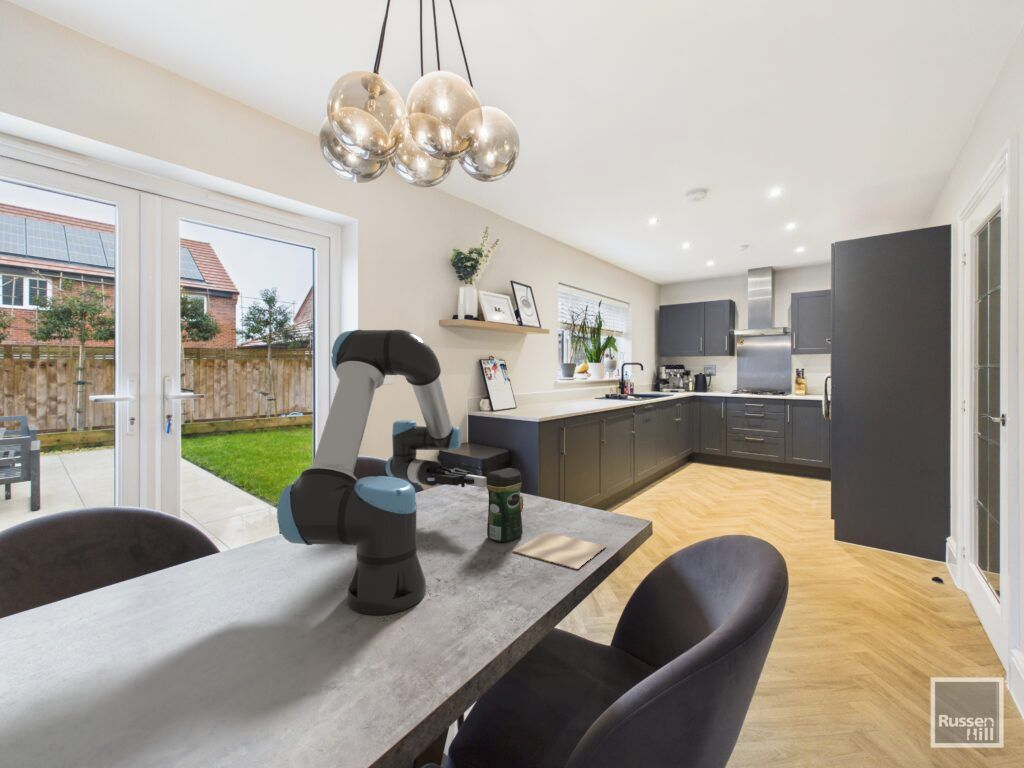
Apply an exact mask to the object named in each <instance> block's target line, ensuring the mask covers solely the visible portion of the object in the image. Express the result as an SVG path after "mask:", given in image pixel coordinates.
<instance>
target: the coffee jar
mask: <svg viewBox="0 0 1024 768" xmlns="http://www.w3.org/2000/svg"><path fill="white" fill-rule="evenodd" d="M521 475H522V474H521V471H520V470H519V469H517V468H512V467H506V468H502V469H498V470H493V471H489V472H488V473H487V475H486V479H487V482H486V483H487V484H486V486H487V487H486V489H487V492H488V510H487V511H488V512H487V525H486V526H487V527H486V536H487V538H488V539H490V540H491V541H493V542H501V543H507V542H510V541H512V540H515V539H518V538H519V537H521V536H522V535H523V534H524V533H523V531H524V530H523V520H522V518H523V517H522V513H521V507H520V496H521V488H522V476H521Z"/></svg>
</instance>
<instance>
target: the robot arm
mask: <svg viewBox="0 0 1024 768" xmlns="http://www.w3.org/2000/svg"><path fill="white" fill-rule="evenodd" d="M331 354H332V356H331V364H332V368H333V370H334V372H335V374H336V377H337V378H338V380H339V381H338V384H337V387H336V390H335V393H334V397H333V399H332V403H331V406H330V409H329V412H328V415H327V418H326V421H325V424H324V428H323V429H322V430H323V431H322V434H321V437H320V440H319V443H318V445H317V449H316V452H315V454H314V459H313V461H312V464H311V466H309V467H307V468H305V469H304V470H302V472H301V473H300V477H299V480H298V482H297V483H295V482H294V483H292V484H289V485H287V486H286V487H285V488H284V489H283V490H282V491H281V492H280V496H279V498H278V502H277V509H276V518H277V525H278V528H279V531H280V533H281V535H282V537H283V538H284V539H285V540H287V541H288V542H289V543H290V544H297V545H298V544H299V545H300V544H301V545H306V546H312V545H324V546H325V545H327V546H328V545H331V546H332V545H334V546H335V545H336V546H356V548H355V549H356V562H355V566H354V569H353V572H352V576H351V579H350V582H349V585H348V590H347V605H348V606H349V607H350V608H351V610H353V611H355V612H357V613H360V614H363V615H369V616H370V615H371V616H381V615H382V616H384V615H389V614H394V613H398V612H402V611H405V610H408V609H410V608H412V607H414V606H415V605H417V604H418V603H420V601H422V600H423V599H424V598H425V596H426V593H427V587H426V584H427V582H426V577H425V575H424V572H423V569H422V566H421V563H420V559H419V557H418V554H417V550H418V549H417V548H418V547H417V509H418V505H417V502H416V499H417V498H416V490H415V486H413V485H412V483H415V484H417V486H421V485H425V486H428V487H429V486H430V487H434V486H437V485H446V486H447V485H449V486H456V487H457V486H460V485H461V488H465V485H467V486H471V487H476V488H477V487H478V488H487V486H486V484H487V483H486V482H487V476H481V475H475V474H474V473H473V472H471V471H468V470H464V469H461V468H458V467H454V468H453V469H451V468H448V467H442V465H441V463H439V461H434V460H428V459H421V458H417V454H418V453H417V451H425V450H426V451H455V450H459V449H460V447H461V445H462V431H461V430H462V429H461V428H460V427H459V426H454V425H453V426H452V422H451V419H450V418H451V417H450V414H449V411H448V406H447V403H446V398H445V396H444V391H443V388H442V384H441V381H440V377H441V372H442V370H441V369H442V368H441V365H440V361H439V359H438V357H437V355H436V354H435V352H434V350H433V349H432V348H431V347H430V345H428V344H427V342H426V341H425V340H424V339H422V338H421V337H419V336H418V335H416V334H414V333H413V332H411V331H409V330H404V329H373V330H372V329H368V330H367V329H354V330H348V331H346V330H345V331H344V332H342V333H340V334H339V335H338V336H337V337H336V339H335V340H334V343H333V346H332V349H331ZM386 376H403V377H404V378H405V380H406V381H407V383H409V384H410V385H411V386H412V389H413V391H414V394H415V397H416V399H417V403H418V405H419V409H420V411H421V414H422V417H423V421H424V423H425V426H420V425H419V426H418V425H417V422H416V420H412V419H410V420H409V419H402V420H395V421H394V422H393V423H392V434H391V439H392V456H391V457H389V458H388V459H387V463H386V465H385V473H386V474H387V475H386V476H385V475H378V476H371V475H370V476H365V477H361V478H359V479H357V477H356V476H355V475H354V471H355V468H356V464H357V461H358V457H359V453H360V449H361V446H362V442H363V437H364V433H365V429H366V426H367V423H368V419H369V416H370V415H369V414H370V411H371V407H372V404H373V399H374V395H375V391H376V389H379V388H380V387H381V386H383V385H384V381H385V378H386Z"/></svg>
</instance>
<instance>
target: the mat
mask: <svg viewBox="0 0 1024 768" xmlns="http://www.w3.org/2000/svg"><path fill="white" fill-rule="evenodd" d="M605 547H606V548H607V545H604V544H599V543H594V542H591V541H587V540H582V539H578V538H573V537H568V536H565V535H560V534H556V533H551V532H549V531H548V532H547V531H545V532H543V533H542V534H539V535H537V537H535V538H533V539H531V540H529V541H527V542H526V543H524V544H522V545H520V546H519V547H517V548H515V549H514V550H512V553H513V554H517V553H518V554H517V555H520V554H522V555H521V556H524V555H525V557H529V558H532V559H536V560H539V559H540V560H539V561H542V560H544V561H543V562H546V561H549V562H548V563H550V562H553V563H556V564H555V565H557V564H560V565H564V566H568V567H572V568H577V569H578V568H580V567H581V566H582V565H583V564H584V563H586V562H587V561H588V560H589V559H591V558H592V557H593V556H595V555H596V554H597V553H599V552H600V551H601V550H603V549H604V548H605ZM606 548H605V549H606ZM605 549H604V550H605ZM604 550H603V551H604ZM601 552H602V551H601ZM601 552H600V553H601ZM600 553H599V554H600ZM596 556H597V555H596ZM596 556H595V557H596ZM591 560H592V559H591ZM553 563H552V564H553ZM586 564H587V563H586ZM560 565H559V566H560ZM564 566H563V567H564ZM568 567H567V568H568ZM581 568H582V567H581ZM581 568H580V569H581Z"/></svg>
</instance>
